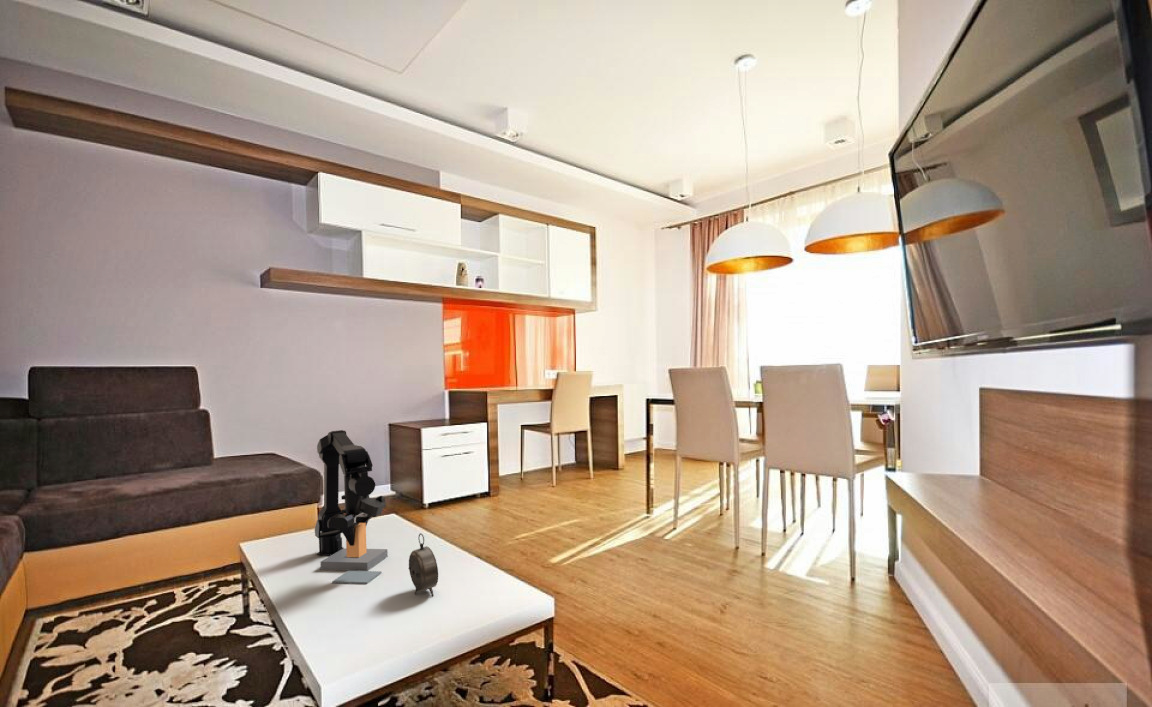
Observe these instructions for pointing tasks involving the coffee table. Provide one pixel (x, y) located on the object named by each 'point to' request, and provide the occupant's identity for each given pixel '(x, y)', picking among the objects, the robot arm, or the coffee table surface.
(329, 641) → the coffee table surface
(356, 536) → the orange block
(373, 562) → the holder
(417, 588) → the alarm clock
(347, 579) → the mat
